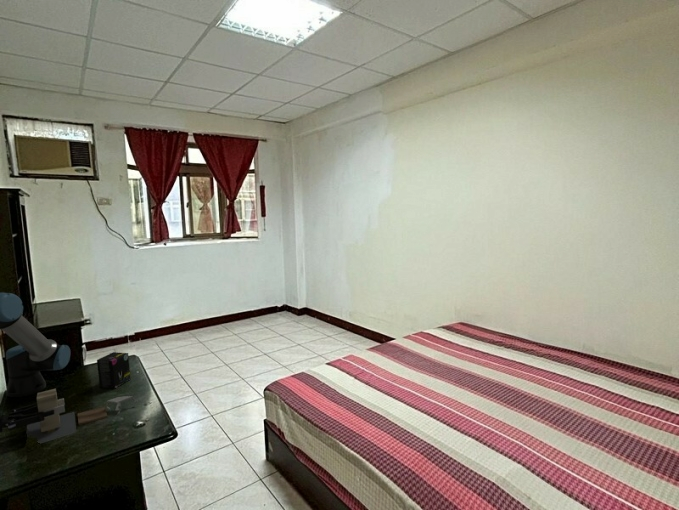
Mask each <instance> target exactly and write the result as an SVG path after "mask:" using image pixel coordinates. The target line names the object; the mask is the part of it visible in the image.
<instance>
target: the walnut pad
mask: <svg viewBox="0 0 679 510" xmlns="http://www.w3.org/2000/svg"><path fill="white" fill-rule="evenodd" d="M107 418H108V414H107V410H106V405H104V406H99V407H96V408H92V409H89V410H85V411H83V412H78V413H77V421H78V426H79V427H80V426H83V425H87V424H90V423H94V422H98V421H99V420H103V419H107Z"/></svg>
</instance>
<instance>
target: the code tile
mask: <svg viewBox="0 0 679 510" xmlns="http://www.w3.org/2000/svg"><path fill="white" fill-rule="evenodd" d="M59 416H60V427H58V428H55V429H51V430H48V431H45V432H41V426H40V422H37V423H33V424H29V425H26V433H25V435H26V434H27V435H28V436H31V437H32V438H33V437H34V438H37V440H38V441H37V442H38V443H40V444H45V443H47V442H51V441H53V440H57V439H59V438H63V437H66V436H71V435H73V434H77V426H76V424H77V423H76V415H75V411H72V412H68V413H65V414H61V415H59ZM40 444H39V445H40Z"/></svg>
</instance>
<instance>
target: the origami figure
mask: <svg viewBox="0 0 679 510" xmlns="http://www.w3.org/2000/svg"><path fill="white" fill-rule="evenodd" d="M130 399H133V400H134V401H135V402H134V403H133V404H132V408H133V407H134V408H135V405H136V404H137V403H138V402H139V401H138V399H137V398H136V397H134V396H132V395H128V396H126V395H125V396H118V397H117V396H116V397H114V398H112V399H108V400H106V404H105V408H107V409H108V411H111V408H110V407H109V406H108V405H109V404H110V403H113V404H116V407H115V411H118V412H117V413H116V414H117V415H119V414H120V413H121V409H119V408H121V403H123V402H126V401H128V400H130Z"/></svg>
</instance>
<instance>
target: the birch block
mask: <svg viewBox="0 0 679 510" xmlns="http://www.w3.org/2000/svg"><path fill="white" fill-rule="evenodd" d="M57 395H58V394H57V388H53V389H49V390H45V391H39V392H37V393H36V403H37V405H38V412H44V410H47V409H50V408H54V407H58V401H57V400H58V396H57ZM38 412H37V413H38ZM60 416H61V415H60V413H59V414H55V415H52V416H48V417H44V419H45V420H43V421H40V426H41V432H45V431H48V430H51V429H55V428H58V427H60Z"/></svg>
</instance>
